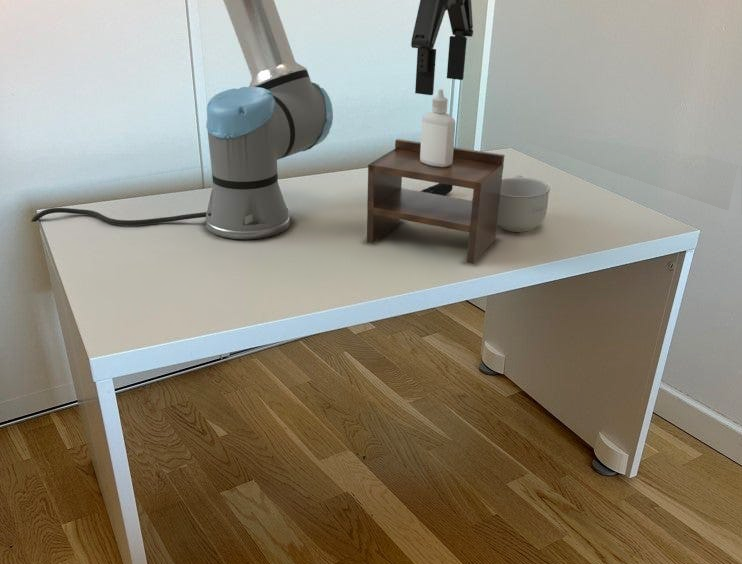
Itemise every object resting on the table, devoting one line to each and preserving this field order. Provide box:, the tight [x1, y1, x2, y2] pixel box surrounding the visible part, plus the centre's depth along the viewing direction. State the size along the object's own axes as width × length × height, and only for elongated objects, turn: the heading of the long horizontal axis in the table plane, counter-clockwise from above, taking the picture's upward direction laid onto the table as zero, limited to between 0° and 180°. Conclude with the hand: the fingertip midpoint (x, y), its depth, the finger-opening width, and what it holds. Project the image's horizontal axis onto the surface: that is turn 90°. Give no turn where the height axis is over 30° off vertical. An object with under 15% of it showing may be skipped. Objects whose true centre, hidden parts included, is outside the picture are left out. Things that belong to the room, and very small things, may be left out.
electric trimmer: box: [420, 183, 453, 196], centre depth 152 cm, size 4×16×3 cm, turn 142°
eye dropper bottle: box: [420, 89, 456, 167], centre depth 125 cm, size 4×6×12 cm
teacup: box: [497, 175, 551, 233], centre depth 142 cm, size 14×11×8 cm
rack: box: [366, 138, 506, 265], centre depth 131 cm, size 20×12×16 cm, turn 64°
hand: (440, 86), depth 121 cm, fingers open, 13 cm apart
